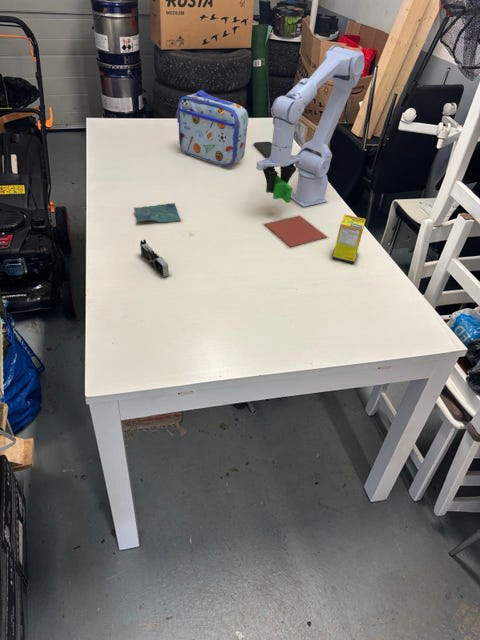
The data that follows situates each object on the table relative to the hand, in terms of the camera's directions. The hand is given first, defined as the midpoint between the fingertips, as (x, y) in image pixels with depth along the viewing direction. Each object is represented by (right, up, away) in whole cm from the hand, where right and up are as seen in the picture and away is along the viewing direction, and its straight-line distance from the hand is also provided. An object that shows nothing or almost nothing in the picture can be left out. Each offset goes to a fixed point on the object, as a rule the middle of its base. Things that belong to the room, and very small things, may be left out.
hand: (276, 189), depth 137 cm
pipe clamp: (0, -1, +1) cm, 2 cm away
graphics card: (-33, -25, -19) cm, 45 cm away
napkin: (+6, -12, -1) cm, 14 cm away
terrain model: (-35, -8, 0) cm, 36 cm away
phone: (0, +28, +45) cm, 53 cm away
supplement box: (+18, -21, -9) cm, 29 cm away
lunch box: (-22, +22, +36) cm, 47 cm away
